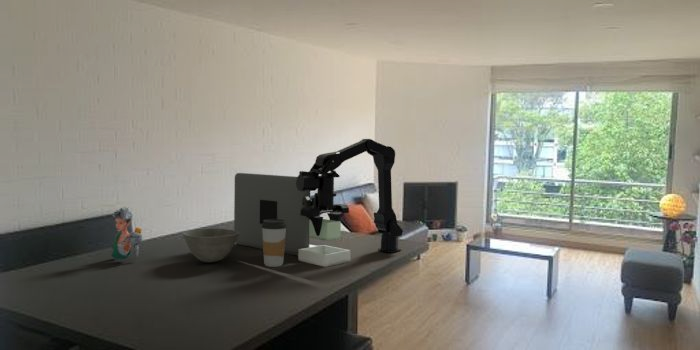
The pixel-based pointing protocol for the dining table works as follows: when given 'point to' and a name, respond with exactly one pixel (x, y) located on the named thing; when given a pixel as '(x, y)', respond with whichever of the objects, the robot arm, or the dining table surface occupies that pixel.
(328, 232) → the small crate
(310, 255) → the big crate
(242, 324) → the dining table surface
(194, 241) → the bowl
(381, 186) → the robot arm
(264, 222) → the coffee cup
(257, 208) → the laptop
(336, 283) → the dining table surface
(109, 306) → the dining table surface
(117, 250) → the character figurine
